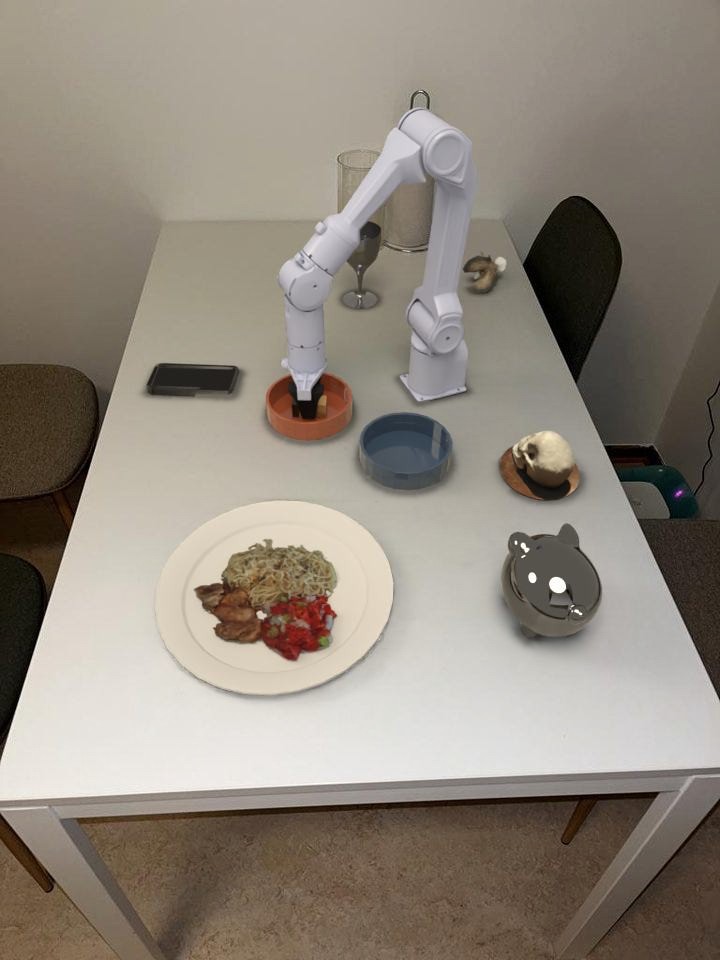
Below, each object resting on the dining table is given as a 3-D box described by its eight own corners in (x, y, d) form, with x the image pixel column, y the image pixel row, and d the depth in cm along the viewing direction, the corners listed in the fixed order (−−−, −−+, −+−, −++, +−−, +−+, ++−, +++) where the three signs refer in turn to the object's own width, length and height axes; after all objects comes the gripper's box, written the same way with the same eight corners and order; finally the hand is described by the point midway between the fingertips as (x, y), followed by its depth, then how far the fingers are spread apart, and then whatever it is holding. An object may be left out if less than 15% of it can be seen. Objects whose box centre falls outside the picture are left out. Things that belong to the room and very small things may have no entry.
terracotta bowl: (334, 382, 121) (334, 363, 119) (364, 430, 112) (365, 411, 109) (257, 400, 118) (255, 381, 115) (282, 451, 108) (280, 432, 105)
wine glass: (386, 296, 143) (389, 226, 132) (366, 313, 138) (367, 242, 128) (354, 286, 146) (354, 217, 135) (333, 302, 141) (331, 231, 131)
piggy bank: (555, 559, 93) (575, 500, 85) (608, 654, 83) (635, 597, 75) (477, 573, 91) (489, 514, 83) (520, 672, 81) (539, 616, 73)
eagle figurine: (468, 264, 151) (453, 274, 144) (490, 240, 146) (476, 249, 140) (492, 290, 151) (477, 301, 144) (515, 267, 146) (501, 277, 140)
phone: (156, 362, 123) (239, 365, 123) (157, 367, 124) (240, 370, 123) (144, 389, 118) (231, 392, 117) (145, 394, 118) (232, 397, 118)
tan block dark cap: (327, 407, 115) (326, 395, 114) (326, 417, 113) (325, 405, 112) (293, 407, 115) (292, 394, 114) (292, 417, 113) (291, 404, 112)
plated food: (254, 482, 103) (251, 465, 101) (433, 563, 92) (435, 547, 90) (106, 627, 85) (99, 611, 82) (308, 750, 74) (306, 736, 72)
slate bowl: (425, 423, 114) (427, 404, 111) (465, 478, 104) (469, 458, 101) (346, 444, 110) (346, 424, 107) (381, 502, 100) (382, 483, 98)
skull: (479, 453, 107) (526, 403, 103) (516, 474, 113) (560, 428, 110) (520, 503, 98) (572, 451, 95) (557, 523, 105) (606, 474, 102)
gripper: (283, 312, 110) (289, 382, 119) (274, 365, 99) (281, 436, 109) (328, 313, 110) (330, 382, 119) (323, 365, 99) (325, 437, 109)
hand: (309, 408), depth 114 cm, fingers open, 4 cm apart
